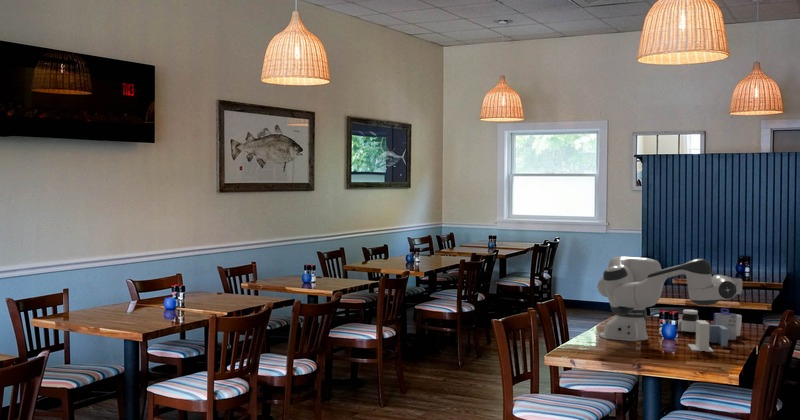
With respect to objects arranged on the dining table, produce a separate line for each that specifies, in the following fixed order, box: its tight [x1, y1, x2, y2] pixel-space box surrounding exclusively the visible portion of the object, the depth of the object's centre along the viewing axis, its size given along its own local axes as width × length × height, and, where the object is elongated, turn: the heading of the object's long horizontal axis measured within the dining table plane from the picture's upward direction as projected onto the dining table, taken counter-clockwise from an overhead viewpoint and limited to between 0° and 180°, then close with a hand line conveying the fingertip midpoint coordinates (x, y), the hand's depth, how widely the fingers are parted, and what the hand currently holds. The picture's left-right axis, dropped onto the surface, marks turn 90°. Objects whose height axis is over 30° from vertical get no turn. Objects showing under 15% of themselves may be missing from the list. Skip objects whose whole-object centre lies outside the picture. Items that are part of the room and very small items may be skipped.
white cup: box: [735, 313, 743, 337], centre depth 394 cm, size 8×8×10 cm
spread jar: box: [677, 309, 700, 336], centre depth 397 cm, size 12×11×12 cm
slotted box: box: [709, 324, 729, 348], centre depth 369 cm, size 10×10×8 cm
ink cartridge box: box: [713, 307, 738, 341], centre depth 383 cm, size 10×6×14 cm, turn 78°
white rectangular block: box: [695, 319, 711, 352], centre depth 354 cm, size 4×10×12 cm, turn 168°
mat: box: [687, 343, 715, 353], centre depth 357 cm, size 9×13×1 cm
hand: (713, 281), depth 341 cm, fingers open, 8 cm apart
